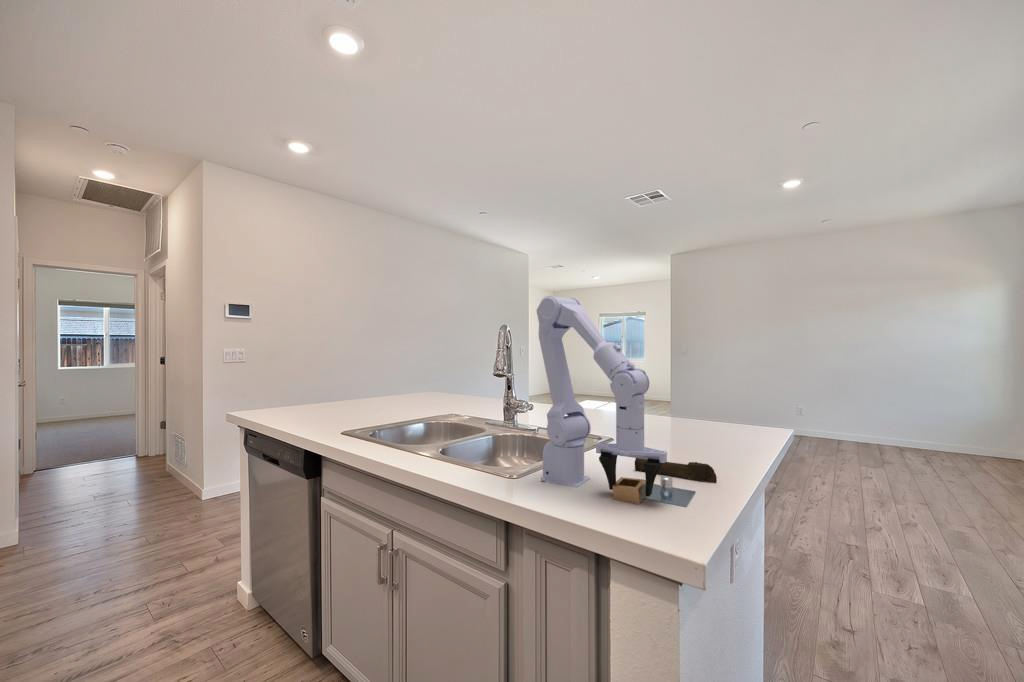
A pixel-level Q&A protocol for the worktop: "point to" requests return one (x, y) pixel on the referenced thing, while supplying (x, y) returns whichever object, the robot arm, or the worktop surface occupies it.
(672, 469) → the dark brown long piece
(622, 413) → the robot arm
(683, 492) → the piston plate
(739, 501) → the worktop surface
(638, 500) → the square wooden frame
